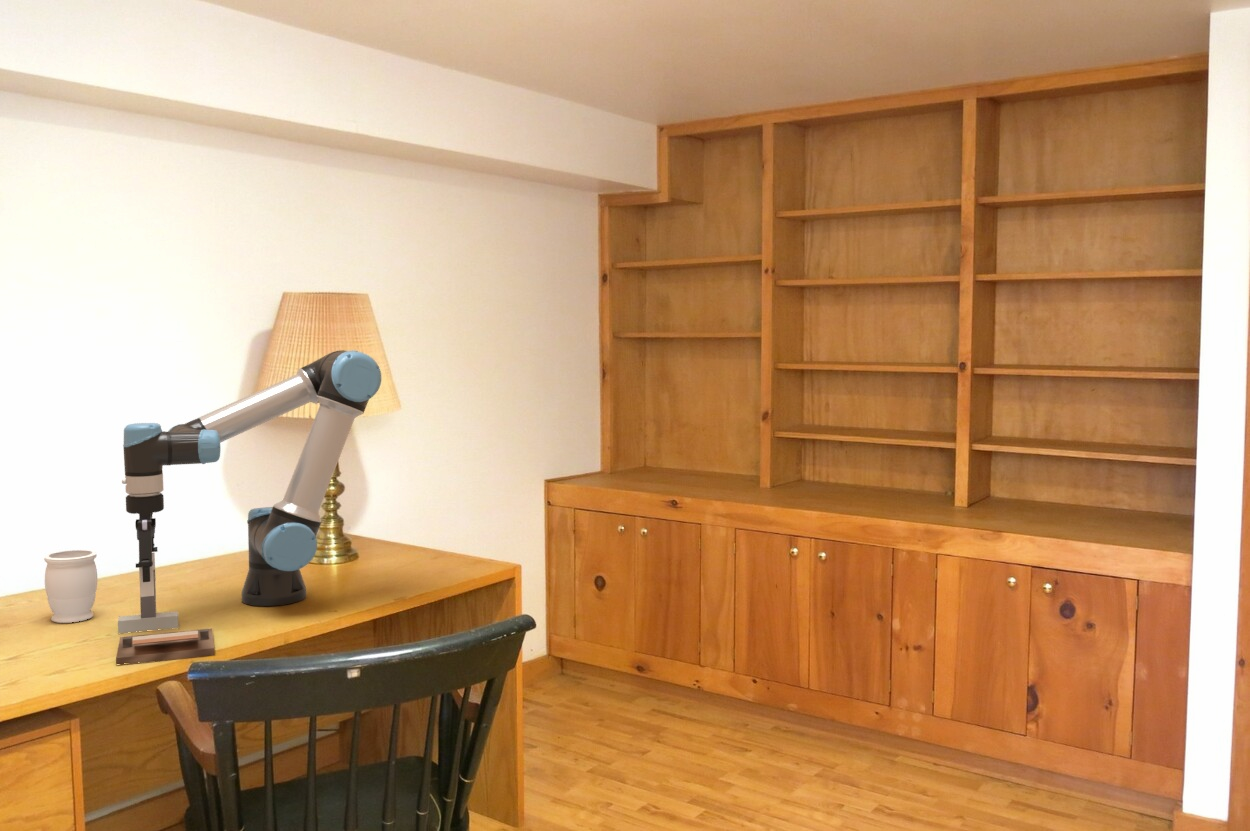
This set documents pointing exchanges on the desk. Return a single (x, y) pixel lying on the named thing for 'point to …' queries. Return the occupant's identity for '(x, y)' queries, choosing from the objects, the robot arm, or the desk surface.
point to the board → (165, 648)
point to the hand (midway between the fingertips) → (148, 588)
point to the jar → (71, 585)
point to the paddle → (148, 617)
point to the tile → (165, 637)
